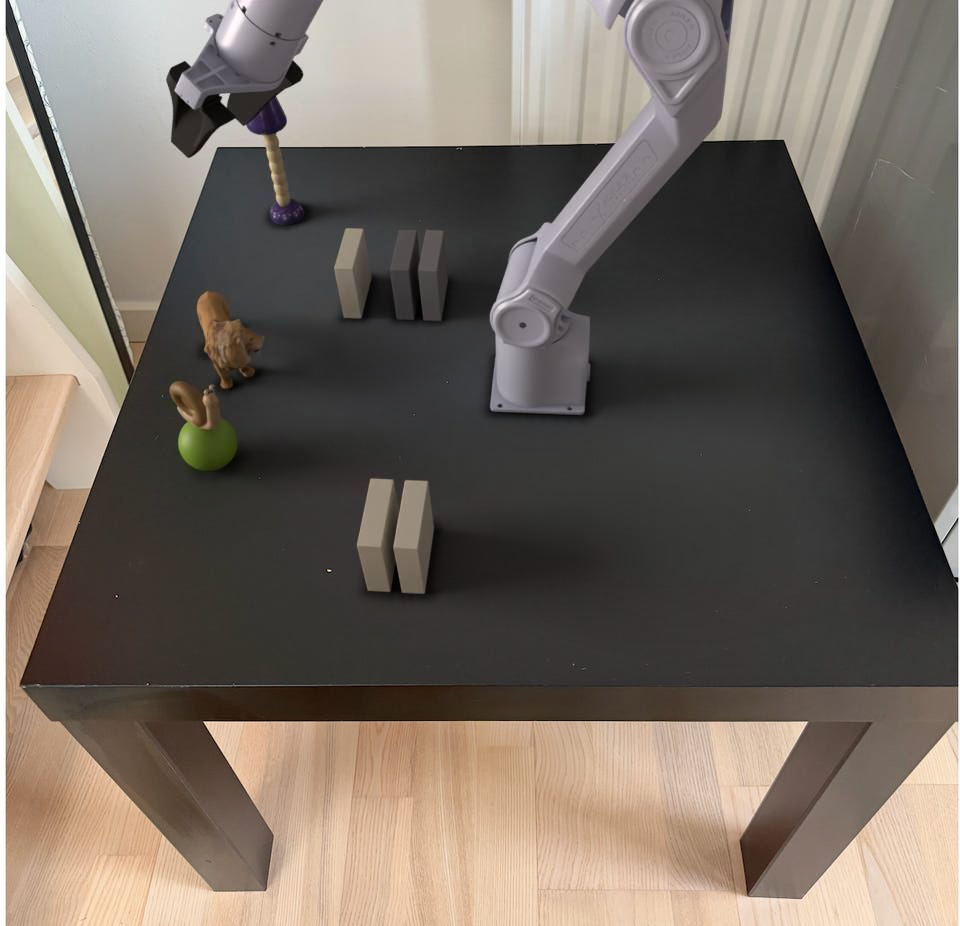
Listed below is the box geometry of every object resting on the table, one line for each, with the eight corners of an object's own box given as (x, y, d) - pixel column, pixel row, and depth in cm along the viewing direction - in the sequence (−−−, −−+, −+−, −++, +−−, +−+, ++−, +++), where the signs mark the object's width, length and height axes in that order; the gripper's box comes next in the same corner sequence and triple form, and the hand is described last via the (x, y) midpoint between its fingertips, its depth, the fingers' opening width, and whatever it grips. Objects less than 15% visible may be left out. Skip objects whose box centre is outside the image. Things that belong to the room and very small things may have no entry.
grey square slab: (422, 279, 105) (417, 229, 100) (414, 320, 101) (408, 270, 96) (405, 279, 106) (399, 229, 100) (396, 319, 101) (389, 269, 96)
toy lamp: (314, 212, 114) (288, 86, 101) (290, 232, 112) (261, 105, 99) (285, 201, 116) (256, 76, 103) (261, 220, 114) (228, 94, 101)
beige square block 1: (401, 526, 83) (393, 479, 78) (390, 592, 79) (381, 546, 73) (380, 525, 83) (370, 478, 78) (367, 590, 79) (356, 545, 73)
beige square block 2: (434, 528, 83) (428, 480, 77) (424, 594, 78) (417, 548, 73) (412, 527, 83) (405, 479, 78) (401, 592, 79) (393, 547, 73)
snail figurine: (224, 494, 86) (189, 408, 77) (175, 468, 88) (135, 381, 79) (262, 456, 89) (232, 369, 80) (213, 432, 91) (179, 344, 82)
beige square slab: (371, 278, 106) (363, 228, 100) (361, 318, 101) (352, 268, 96) (354, 277, 106) (345, 227, 101) (343, 318, 102) (334, 268, 96)
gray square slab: (447, 280, 105) (444, 230, 100) (441, 321, 101) (436, 270, 95) (430, 280, 105) (426, 229, 100) (423, 320, 101) (417, 270, 95)
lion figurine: (282, 390, 95) (263, 325, 88) (235, 411, 93) (212, 347, 86) (226, 313, 103) (205, 248, 96) (182, 332, 101) (157, 267, 94)
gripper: (286, -51, 73) (226, 71, 83) (168, -6, 63) (116, 127, 73) (350, 15, 74) (284, 128, 84) (245, 70, 64) (183, 191, 74)
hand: (210, 132), depth 79 cm, fingers open, 7 cm apart
